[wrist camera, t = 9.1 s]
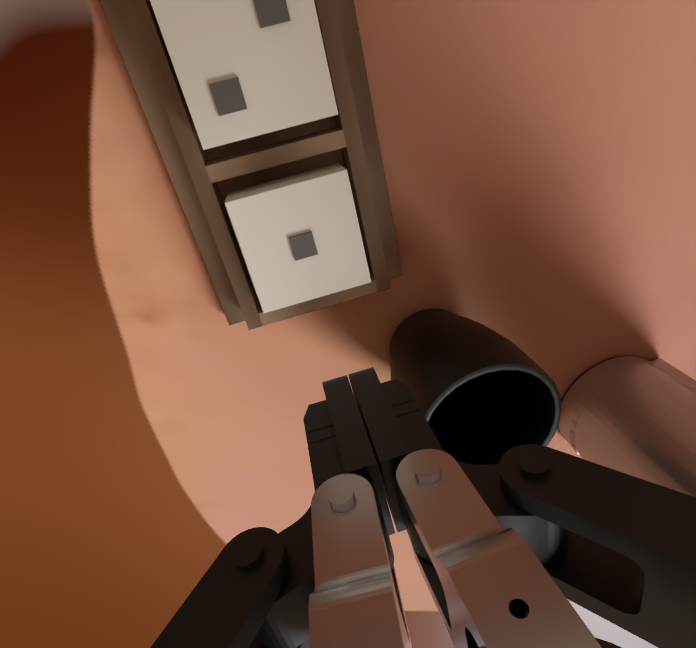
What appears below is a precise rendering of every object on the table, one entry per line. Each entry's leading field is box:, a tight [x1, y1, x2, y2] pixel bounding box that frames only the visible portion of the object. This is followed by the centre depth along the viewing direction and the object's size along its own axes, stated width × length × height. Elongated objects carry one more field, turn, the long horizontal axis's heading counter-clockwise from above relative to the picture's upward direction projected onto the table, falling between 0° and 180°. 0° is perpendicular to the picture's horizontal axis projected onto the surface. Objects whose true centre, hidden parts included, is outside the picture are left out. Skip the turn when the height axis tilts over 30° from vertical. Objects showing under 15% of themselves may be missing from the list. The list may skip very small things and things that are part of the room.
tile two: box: [150, 0, 338, 150], centre depth 19 cm, size 6×6×3 cm
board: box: [99, 0, 402, 330], centre depth 21 cm, size 11×26×3 cm, turn 13°
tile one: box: [225, 163, 371, 313], centre depth 24 cm, size 6×6×3 cm
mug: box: [390, 309, 562, 465], centre depth 29 cm, size 8×12×10 cm
